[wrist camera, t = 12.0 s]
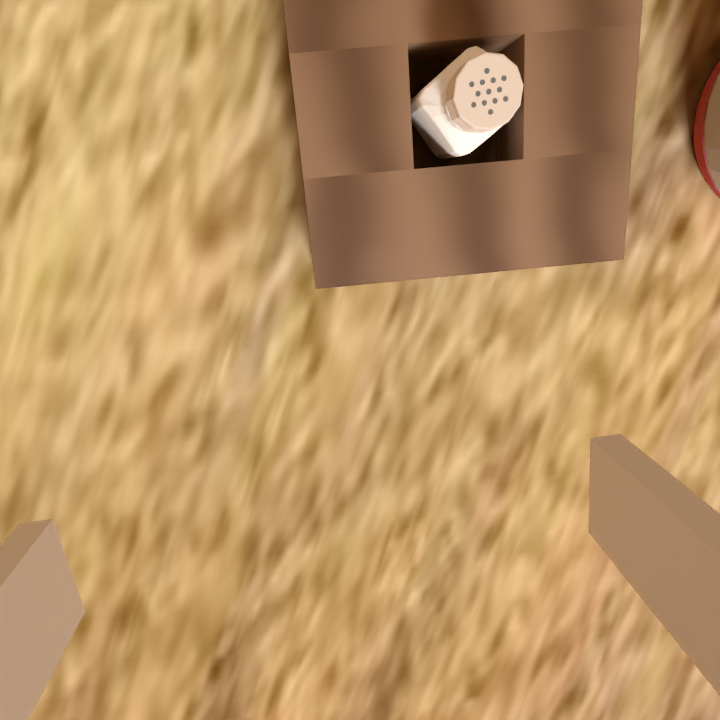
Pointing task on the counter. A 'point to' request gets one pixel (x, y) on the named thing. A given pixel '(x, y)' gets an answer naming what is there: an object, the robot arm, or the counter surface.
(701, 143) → the citrus juicer
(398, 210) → the socket block
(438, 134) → the pepper shaker
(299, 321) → the counter surface
